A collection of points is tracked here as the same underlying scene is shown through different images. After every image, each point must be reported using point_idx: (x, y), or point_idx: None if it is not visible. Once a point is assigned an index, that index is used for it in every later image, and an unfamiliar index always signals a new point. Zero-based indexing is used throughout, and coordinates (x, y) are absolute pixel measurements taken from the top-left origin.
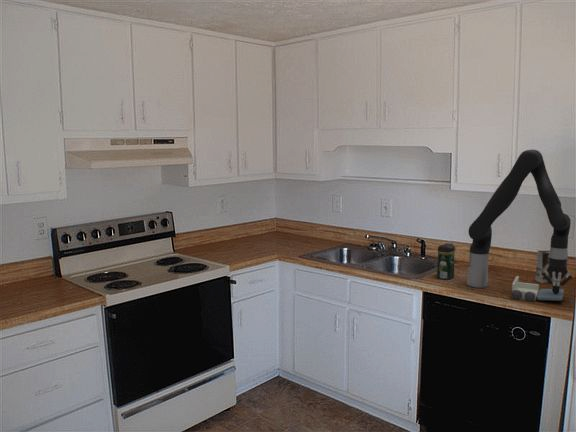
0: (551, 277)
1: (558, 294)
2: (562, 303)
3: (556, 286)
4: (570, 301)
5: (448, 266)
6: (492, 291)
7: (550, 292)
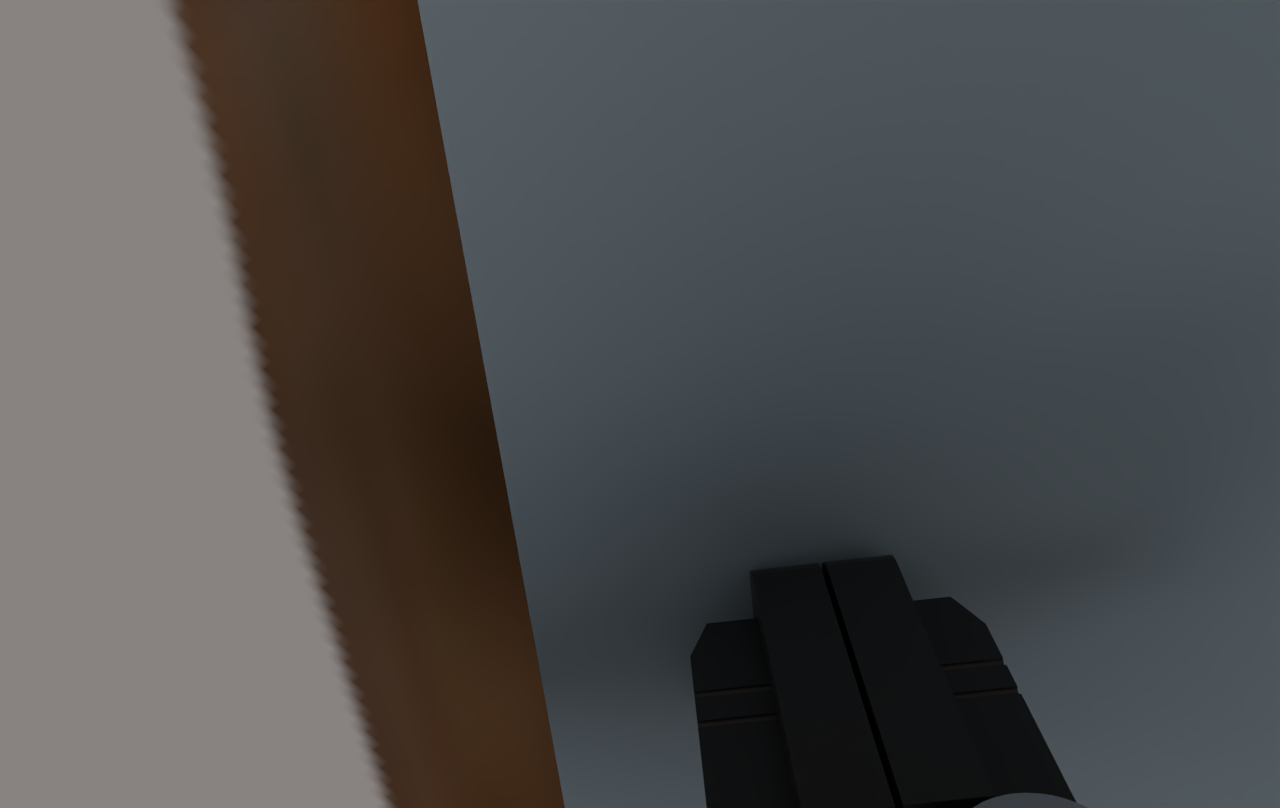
0: None
1: (685, 487)
2: None
3: (869, 796)
4: (310, 564)
5: None
6: None
7: (1021, 687)
